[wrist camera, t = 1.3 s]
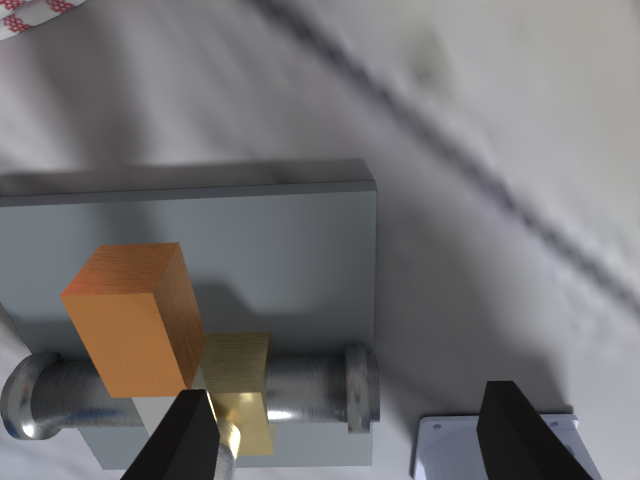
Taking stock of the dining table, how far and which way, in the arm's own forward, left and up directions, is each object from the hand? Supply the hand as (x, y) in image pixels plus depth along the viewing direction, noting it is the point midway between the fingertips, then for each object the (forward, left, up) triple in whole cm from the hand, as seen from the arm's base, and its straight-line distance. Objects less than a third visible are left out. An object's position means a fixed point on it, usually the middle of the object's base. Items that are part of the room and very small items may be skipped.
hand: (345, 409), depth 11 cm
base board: (+7, +8, -9) cm, 14 cm away
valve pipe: (+7, +8, -9) cm, 14 cm away
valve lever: (+6, +3, -4) cm, 8 cm away
